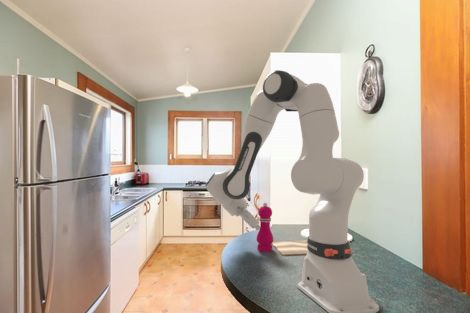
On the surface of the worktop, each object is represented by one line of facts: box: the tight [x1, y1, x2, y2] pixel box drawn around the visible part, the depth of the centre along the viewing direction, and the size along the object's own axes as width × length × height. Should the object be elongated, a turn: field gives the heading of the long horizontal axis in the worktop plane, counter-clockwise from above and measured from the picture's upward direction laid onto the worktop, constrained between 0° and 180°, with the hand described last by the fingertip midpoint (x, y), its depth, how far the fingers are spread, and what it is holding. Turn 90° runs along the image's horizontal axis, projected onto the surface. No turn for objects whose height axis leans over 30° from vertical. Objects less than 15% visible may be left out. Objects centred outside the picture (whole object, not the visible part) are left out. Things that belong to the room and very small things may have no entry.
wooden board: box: [271, 239, 308, 257], centre depth 111 cm, size 16×20×1 cm
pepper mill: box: [255, 202, 274, 253], centre depth 109 cm, size 7×7×20 cm
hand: (258, 228), depth 109 cm, fingers closed
